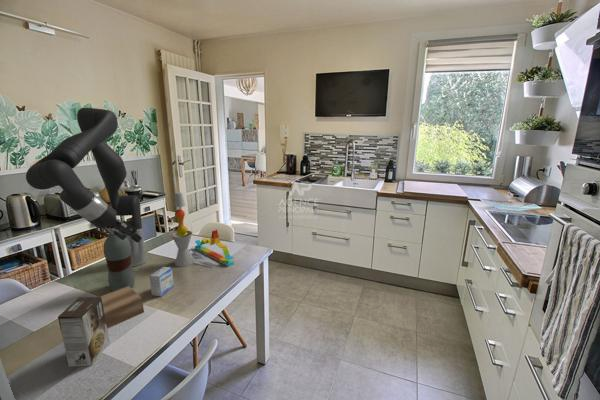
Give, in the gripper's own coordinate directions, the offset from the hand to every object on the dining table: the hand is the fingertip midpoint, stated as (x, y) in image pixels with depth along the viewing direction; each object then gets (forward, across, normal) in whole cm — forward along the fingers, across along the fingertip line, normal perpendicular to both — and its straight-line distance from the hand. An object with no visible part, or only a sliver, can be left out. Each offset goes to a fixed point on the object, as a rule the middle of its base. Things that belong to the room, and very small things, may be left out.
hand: (132, 239), depth 103 cm
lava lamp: (+37, +12, -10) cm, 40 cm away
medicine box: (+25, 0, +8) cm, 27 cm away
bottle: (+20, +16, +12) cm, 29 cm away
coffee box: (+6, -10, +35) cm, 37 cm away
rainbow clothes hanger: (+45, +5, -18) cm, 49 cm away
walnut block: (+15, +1, +22) cm, 27 cm away
